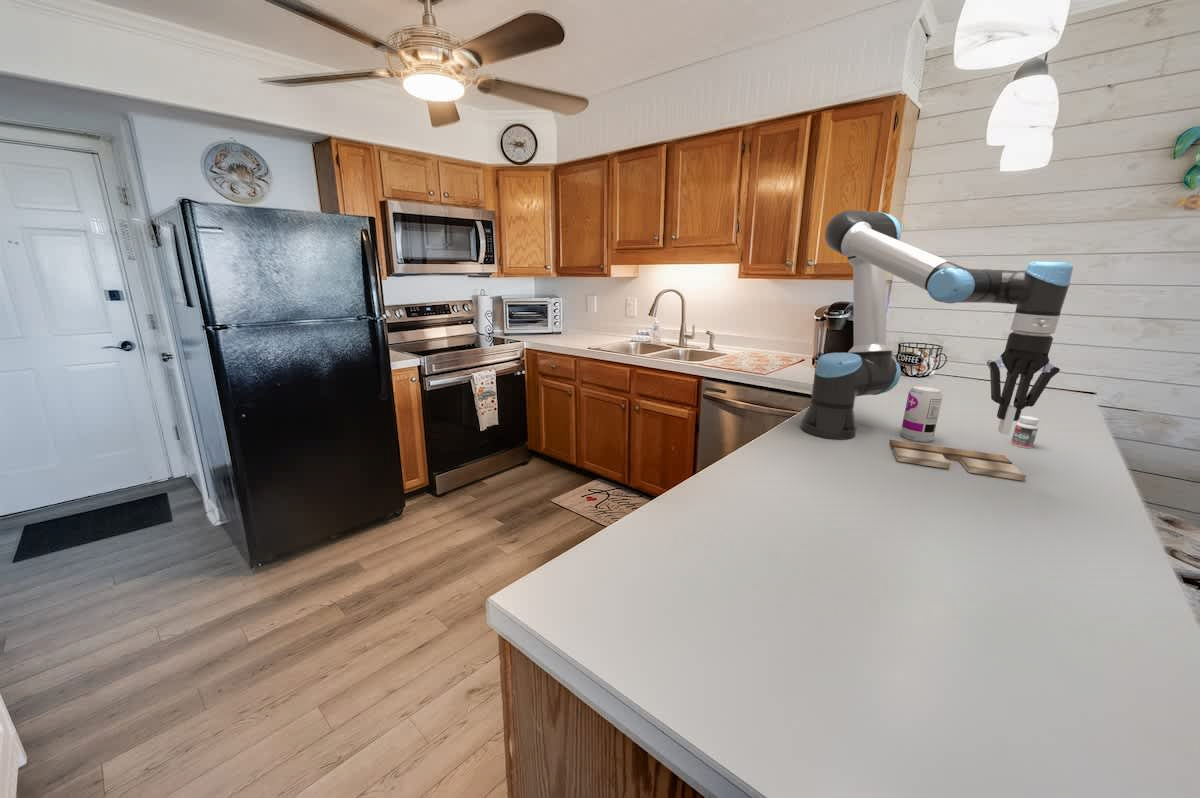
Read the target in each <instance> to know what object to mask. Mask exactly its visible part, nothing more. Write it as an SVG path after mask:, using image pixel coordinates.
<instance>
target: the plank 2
mask: <svg viewBox="0 0 1200 798" xmlns="http://www.w3.org/2000/svg"><path fill="white" fill-rule="evenodd" d="M959 463H960V464H961V465H962V466H963V467H964V468H965V470H966V472H968V473H971V474H976V475H977V474H978V475H984V476H991V477H997V478H1005V479H1010V480H1016V481H1022V482H1023V481H1024V482H1025V481H1026V478H1027V474H1026V473H1023V472H1022V471H1021V470H1020V469H1019V468H1018V467H1017V466H1015V464H1013V463H1012V464H1005V463H998V462H991V461H985V460H978V459H971V458H964V457H960V461H959Z"/></svg>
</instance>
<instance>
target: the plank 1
mask: <svg viewBox="0 0 1200 798" xmlns="http://www.w3.org/2000/svg"><path fill="white" fill-rule="evenodd" d="M892 452H893V455H894V456H895V458H896V460H897V462H902V463H909V464H915V465H919V466H920V465H922V466H927V467H928V466H929V467H934V468H940V469H941V468H942V469H947V470H949V469H950V466H951V462H949V461H948V459H945V457H944V456H943V455H942V454H937V453H930V452H923V451H916V450H909V449H902V448H896V447H894V449H893V451H892Z"/></svg>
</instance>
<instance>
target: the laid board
mask: <svg viewBox="0 0 1200 798" xmlns="http://www.w3.org/2000/svg"><path fill="white" fill-rule="evenodd" d="M889 446H890V448H891V451H892V452H893V449H894V447H896V448H902V449H909V450H916V451H923V452H930V453H937V454H942V455H943V456H944V457H945V459H946V460H952V461H959V462H960V457H964V458H971V459H978V460H985V461H991V462H998V463H1005V464H1012V465H1013V462H1012V461H1010V459H1008V458H1007V456H1005V455H1002V454H996V453H989V452H983V451H975V450H969V449H968V450H967V449H961V448H953V447H948V446H939V445H932V444H926V443H925V444H924V443H918V442H912V441H905V440H897V439H890V441H889Z"/></svg>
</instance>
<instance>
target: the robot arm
mask: <svg viewBox="0 0 1200 798" xmlns="http://www.w3.org/2000/svg"><path fill="white" fill-rule="evenodd" d="M901 238H902V229H901V225H900V222H899V220H898V219H897V218H896V217H895V216H893V215H892V214H889V213H885V212H881V211H866V210H865V211H864V210H857V209H848V210H847V209H846V210H843V211H841V212H839V213H837V214H836V215H834V216H833V217H832V218H831V219H829V221H828V223H827V224H826V228H825V230H824V240H825V242H826V244H827V246H828V247H829V248H830V249H831V250H832V251H834V252H836V253H839V254H841V255H842V256H845V257H847V263H848V264H849V265H850V266H851V267H852V269H853V270H852V272H853V273H852V274H853V275H852V278H853V279H852V280H853V281H852V282H853V283H852V284H853V285H852V287H853V289H852V290H853V291H852V292H853V294H852V295H853V302H852V303H853V307H852V308H853V346H852V347H851V348H850V349H849V350H848V352H829V353H825V354H822V355H820V356H819V357H818V359H817V360H816V366H815V367H814V368H815V369H814V377H813V383H812V389H811V390H812V392H811V397H810V398H811V399H810V404H809V406H808V408H807V410H806V411H805V414H804V415H803V417H802V419H801V424H800V429H802V431H804V432H805V433H808V434H810V435H812V436H813V435H814V436H816V437H820V438H824V439H832V440H833V439H834V440H848V439H853V438H854V437H856V434H857V423H856V418H855V412H854V407H855V402H856V397H861V396H862V397H863V396H877V395H880V394H885V393H888V392H890V391H892V389H894V388H895V387H896V386H897V384H898V383H899V381H900V379H901V374H902V372H901V371H902V370H901V366H900V363H899V362H897V359H895V357H893V349H892V348H891V347H890V346H889V345H887V272H888V273H890V274H891V275H894V276H896V277H898V278H899V279H903V280H904V281H905V282H907V283H911V284H913V286H916V287H918V288H921V289H923V290H925V291H927V294H928V295H929V296H930V298H931V299H932V300H934V301H936V302H938V303H944V304H956V303H959V304H960V303H971V304H972V303H976V304H977V303H978V304H979V303H980V304H981V303H990V304H991V303H992V304H1004V305H1005V304H1008V305H1016V309H1015V312H1014V316H1013V319H1012V322H1011V325H1010V330H1011V331H1012V332H1010V333H1009V334H1008V337H1007V340H1006V344H1005V348H1004V351H1003V353H1001V355H999V357H998V358H995V359H994V360H992V359H989V360H987V361H986V364H987V366H988V368H989V370H990V372H989V373H990V374H989V375H990V376H989V377H990V397H991V398H990V399H991V400H992V401H993V402H994V403H996V404H999V406H998V409H997V413H996V418H997V419H999V424H998V427H997V431H998V432H999V433H1000V434H1001V435H1007V436H1009V435H1010V434H1011V430H1012V426H1013V422H1019V419H1020V416H1021V413H1022V410H1024V409H1025V408H1027V407H1033V406H1034V405H1036V403H1037V401H1038V399H1040V397H1041V395H1042V394H1043V392H1044V390H1045V389H1046V388H1047V386H1048V384H1049V382H1050V381H1051V379H1052V378H1054V376H1056V375H1057V374H1058V373H1059V372H1060V371H1061V369H1060V368H1059V367H1057V366H1055V365H1053V364H1051V363H1050V358H1049V353H1050V352H1051V351H1050V350H1051V346H1052V344H1053V340H1054V337H1053V336H1052V335H1053V334H1055V333H1056V330H1057V326H1058V323H1059V319H1060V316H1061V312H1062V308H1063V305H1064V303H1065V300H1066V296H1067V294H1068V290H1069V287H1070V286H1071V280H1072V279H1071V278H1072V274H1073V269H1074V266H1073V265H1072V263H1070V262H1065V261H1031V262H1029V263H1028V264H1027V266H1026V268H1025V270H1009V269H1007V270H1005V269H990V268H989V269H988V268H987V269H986V268H981V269H980V268H967V267H963V266H961V265H958V264H956V263H953V262H951V261H950V260H948V259H945V258H942V257H939V256H937V255H934V254H932V253H930V252H928V251H925V250H923V249H920V248H918V247H916V246H913V245H911V244H909V243H907V242H903V241H901ZM1002 365H1003V366H1004V367H1005V369H1006V376H1005V377H1006V378H1005V381H1004V385H1003V389H1002V391H1001V371H1000V369H1001V368H1002ZM1041 369H1042V370H1041ZM1040 370H1041V371H1042V372H1041V373H1040V374H1039V376H1038V378H1037V379H1036V380H1035V382H1034V384H1033V385H1032V387H1031V389H1030V385H1031V381H1032V380H1033V378H1034V376H1035V374H1036V373H1037V372H1038V371H1040ZM1019 377H1020V378H1019ZM1018 379H1019V382H1018V386H1017V389H1016V392H1015V395H1014V391H1015V387H1016V384H1017V380H1018ZM1013 395H1014V399H1013V402H1012V403H1013V405H1012V404H1011V401H1012V398H1013Z"/></svg>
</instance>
